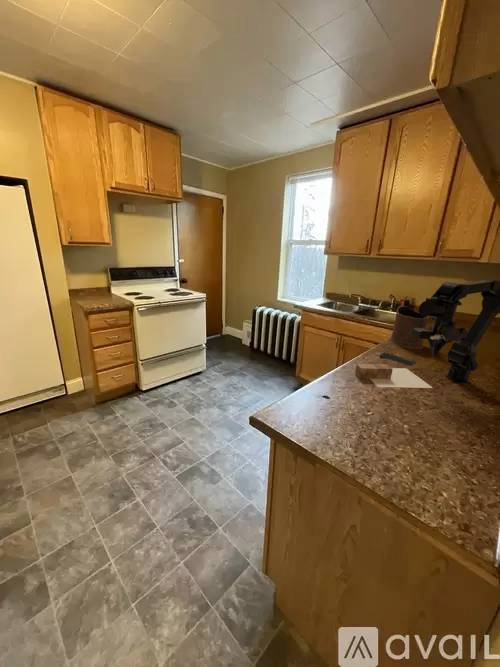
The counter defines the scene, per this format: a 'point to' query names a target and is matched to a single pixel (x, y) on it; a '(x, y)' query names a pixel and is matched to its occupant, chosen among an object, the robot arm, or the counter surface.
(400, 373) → the cutting board
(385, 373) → the walnut block
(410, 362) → the phone
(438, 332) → the robot arm
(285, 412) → the counter surface
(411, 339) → the brown hollow rounded container
